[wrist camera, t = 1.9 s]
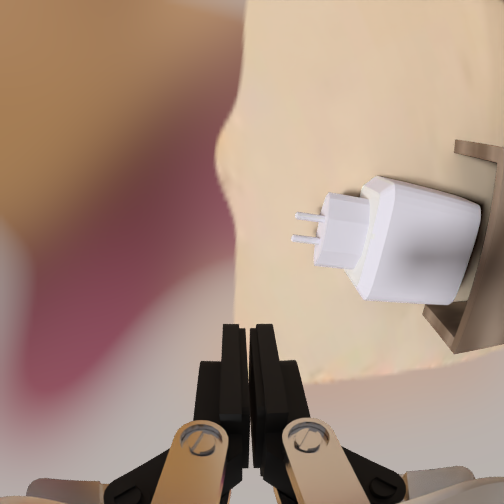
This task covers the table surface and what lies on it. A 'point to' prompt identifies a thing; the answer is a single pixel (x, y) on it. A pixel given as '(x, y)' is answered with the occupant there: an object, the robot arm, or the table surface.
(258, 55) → the table surface
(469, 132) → the table surface
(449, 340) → the grey-brown block
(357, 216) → the charger
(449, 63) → the table surface
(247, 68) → the table surface
